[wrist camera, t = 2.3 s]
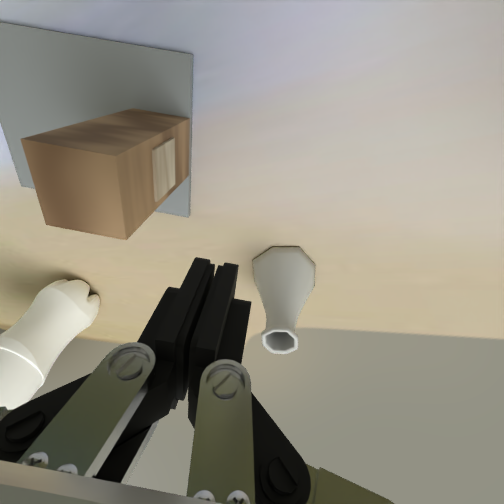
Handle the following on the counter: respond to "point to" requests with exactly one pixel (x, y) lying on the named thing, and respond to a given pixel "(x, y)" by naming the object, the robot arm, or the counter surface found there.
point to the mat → (86, 89)
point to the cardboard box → (108, 170)
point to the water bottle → (42, 338)
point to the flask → (283, 294)
